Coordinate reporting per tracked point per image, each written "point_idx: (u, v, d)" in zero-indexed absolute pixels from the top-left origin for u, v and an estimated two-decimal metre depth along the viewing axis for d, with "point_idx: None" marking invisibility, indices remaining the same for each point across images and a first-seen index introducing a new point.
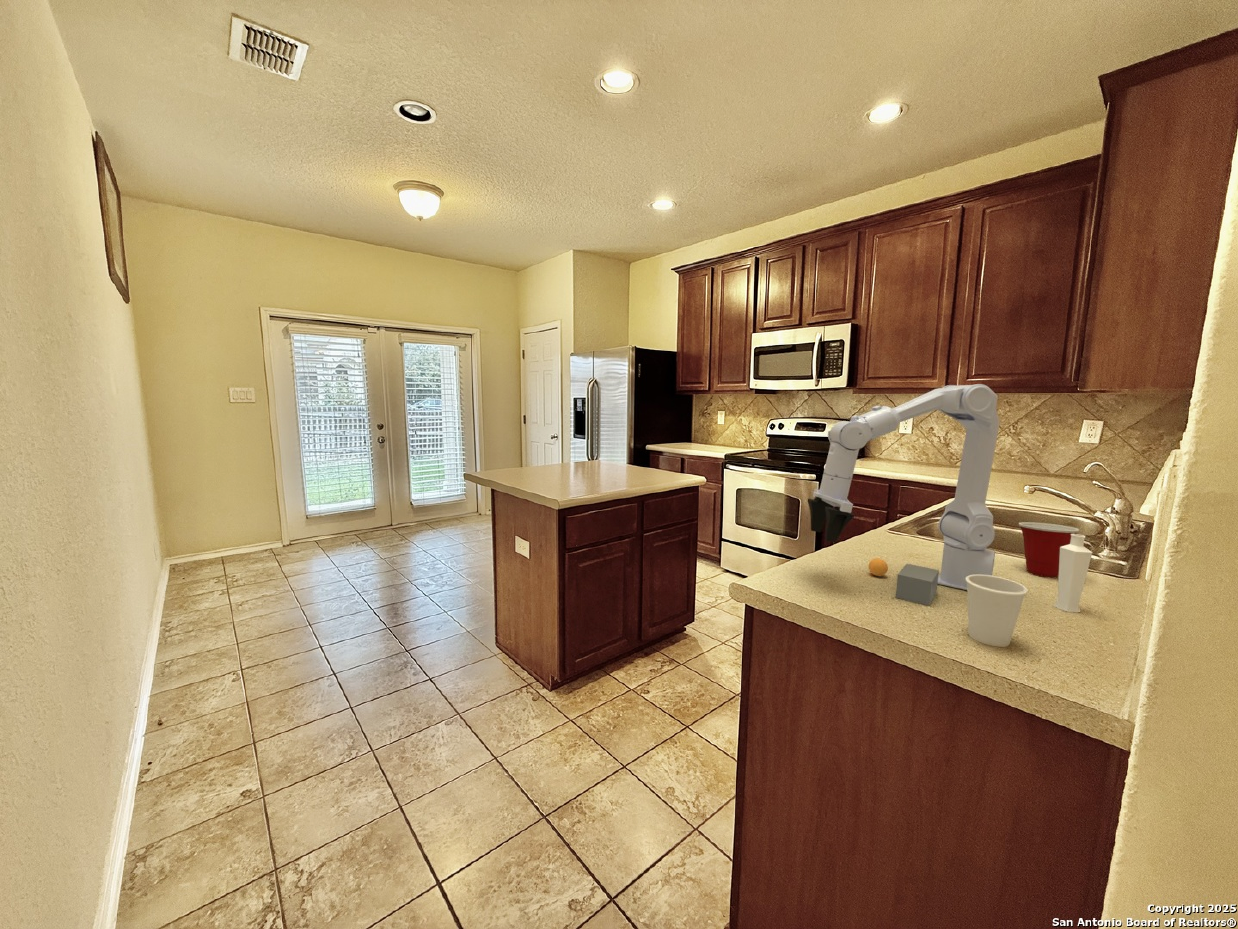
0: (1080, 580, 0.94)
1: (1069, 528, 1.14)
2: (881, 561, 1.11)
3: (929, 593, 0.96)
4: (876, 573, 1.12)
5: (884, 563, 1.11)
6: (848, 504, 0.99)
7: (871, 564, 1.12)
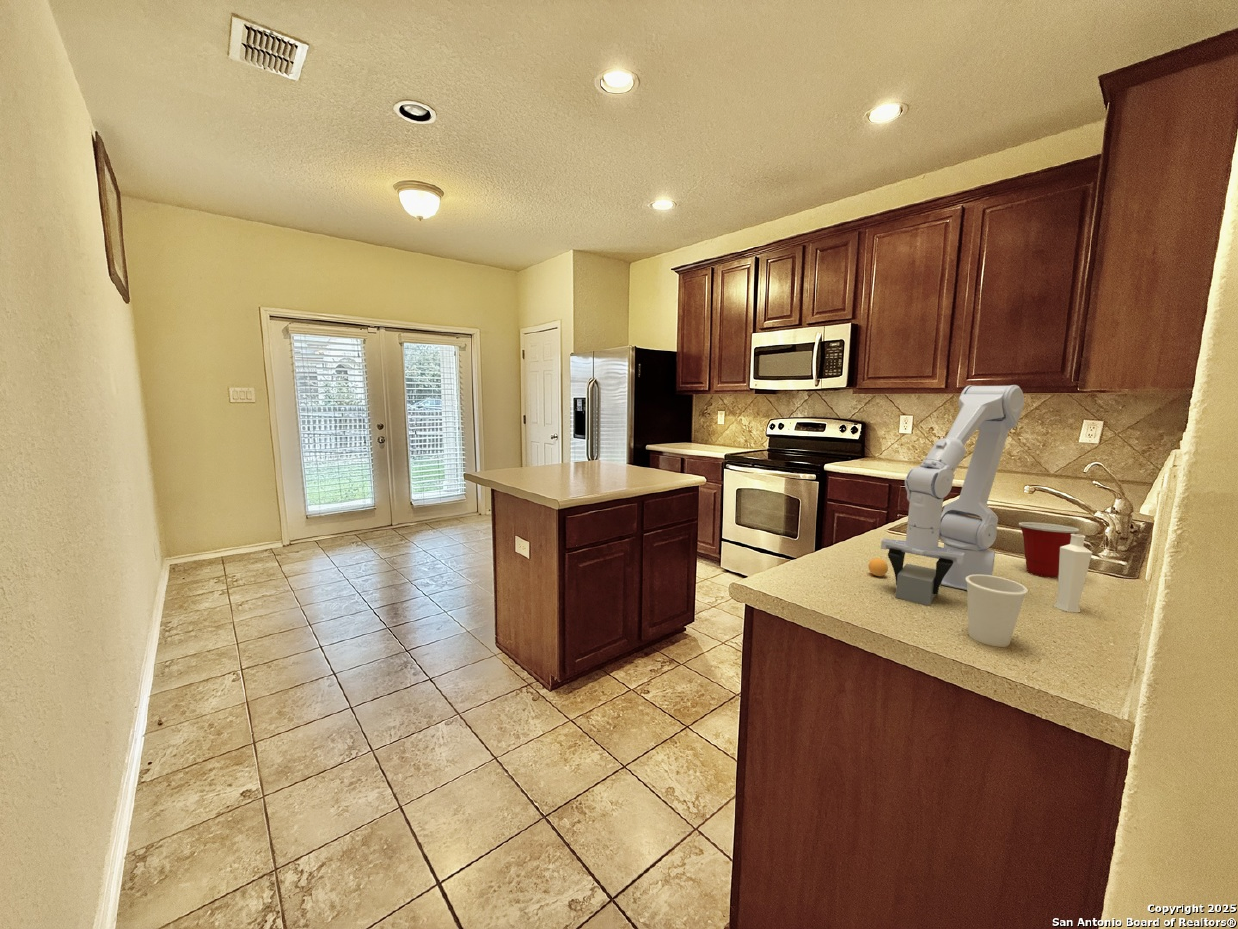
0: (1080, 580, 0.94)
1: (1069, 528, 1.14)
2: (881, 561, 1.11)
3: (929, 593, 0.96)
4: (876, 573, 1.12)
5: (884, 563, 1.11)
6: (963, 555, 0.96)
7: (871, 564, 1.12)
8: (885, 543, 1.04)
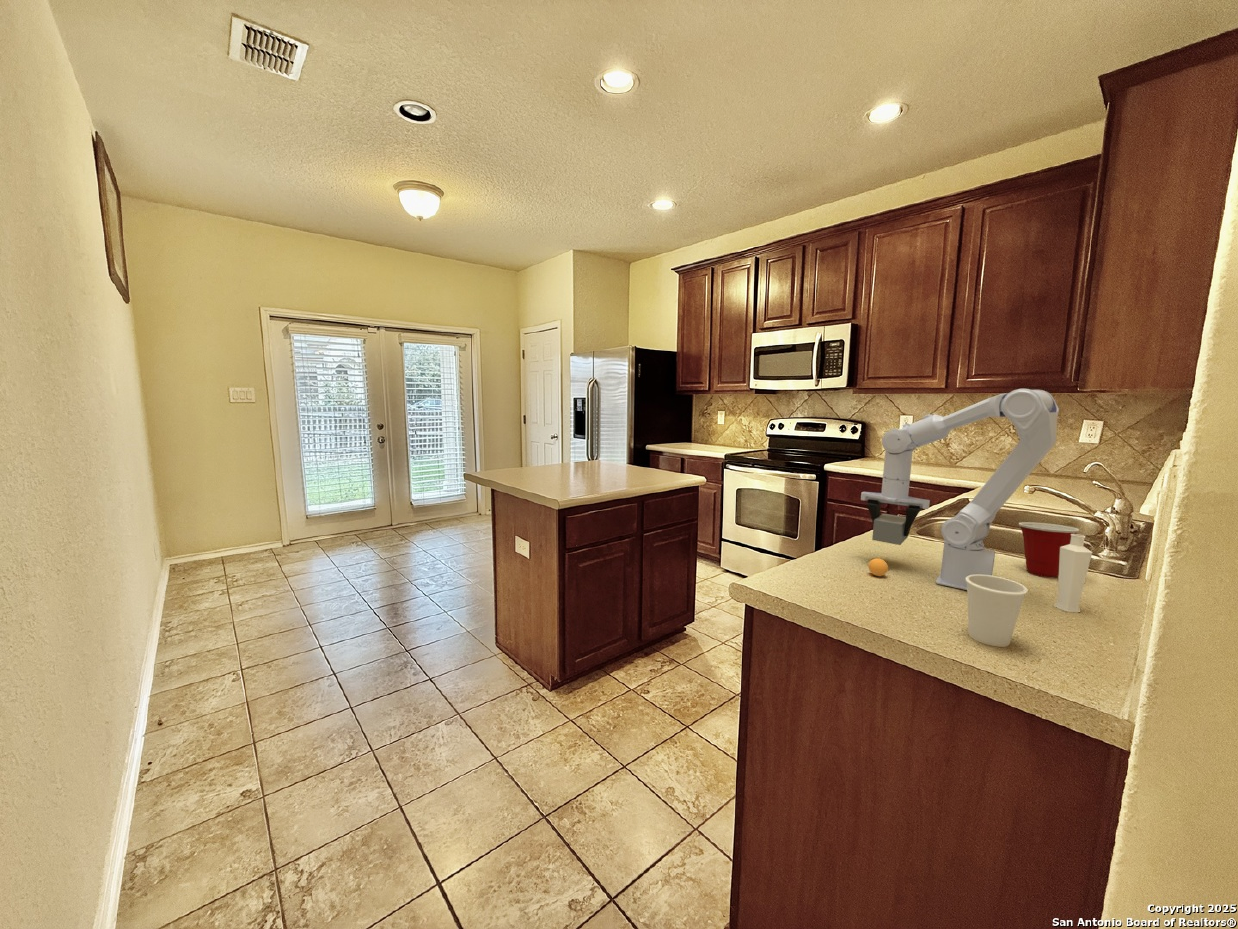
0: (1080, 580, 0.94)
1: (1069, 528, 1.14)
2: (881, 561, 1.11)
3: (900, 534, 1.14)
4: (876, 573, 1.12)
5: (884, 563, 1.11)
6: (929, 501, 1.14)
7: (871, 564, 1.12)
8: (864, 495, 1.22)
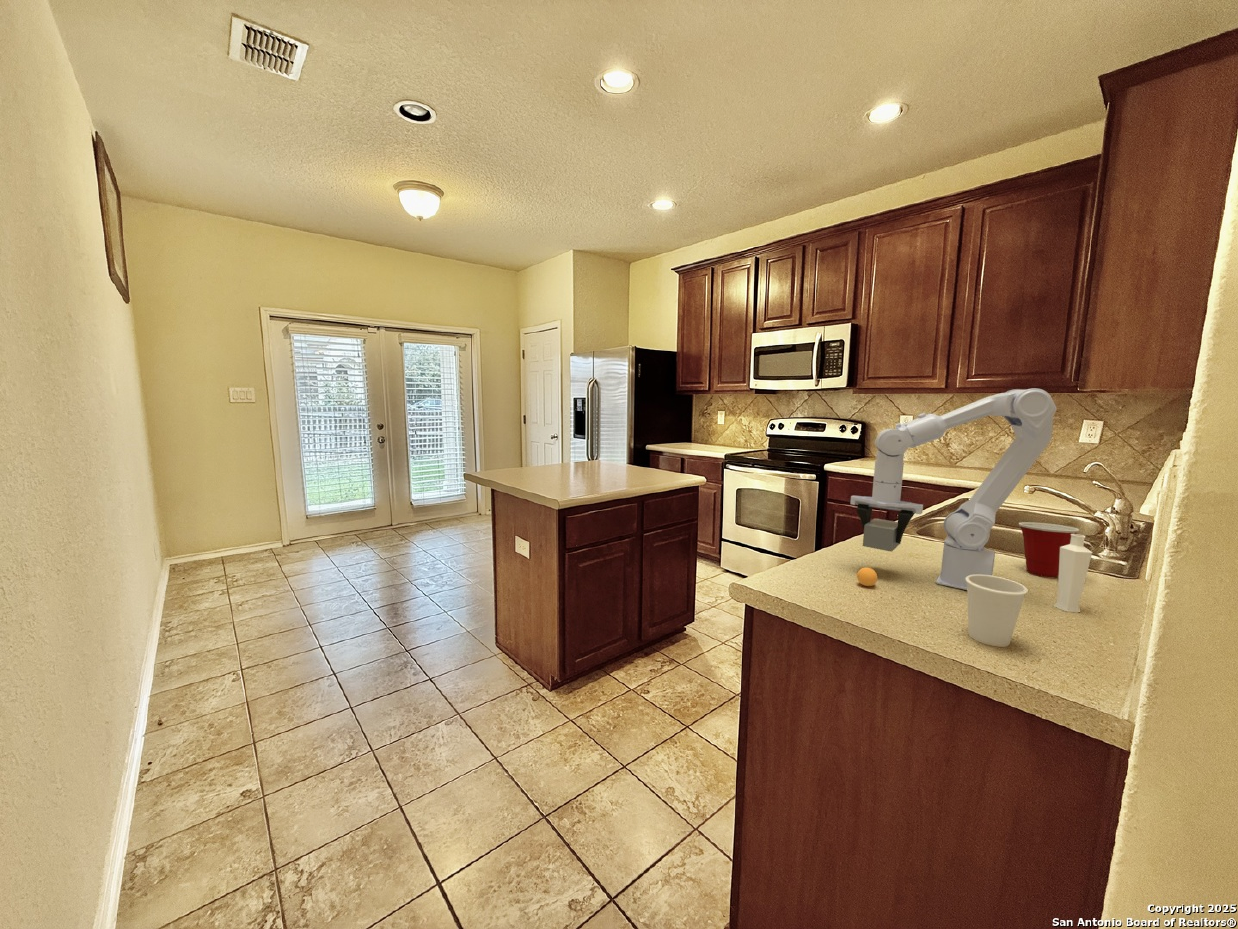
0: (1080, 580, 0.94)
1: (1069, 528, 1.14)
2: None
3: (892, 540, 1.08)
4: (868, 568, 1.06)
5: None
6: (922, 506, 1.07)
7: None
8: (854, 499, 1.15)
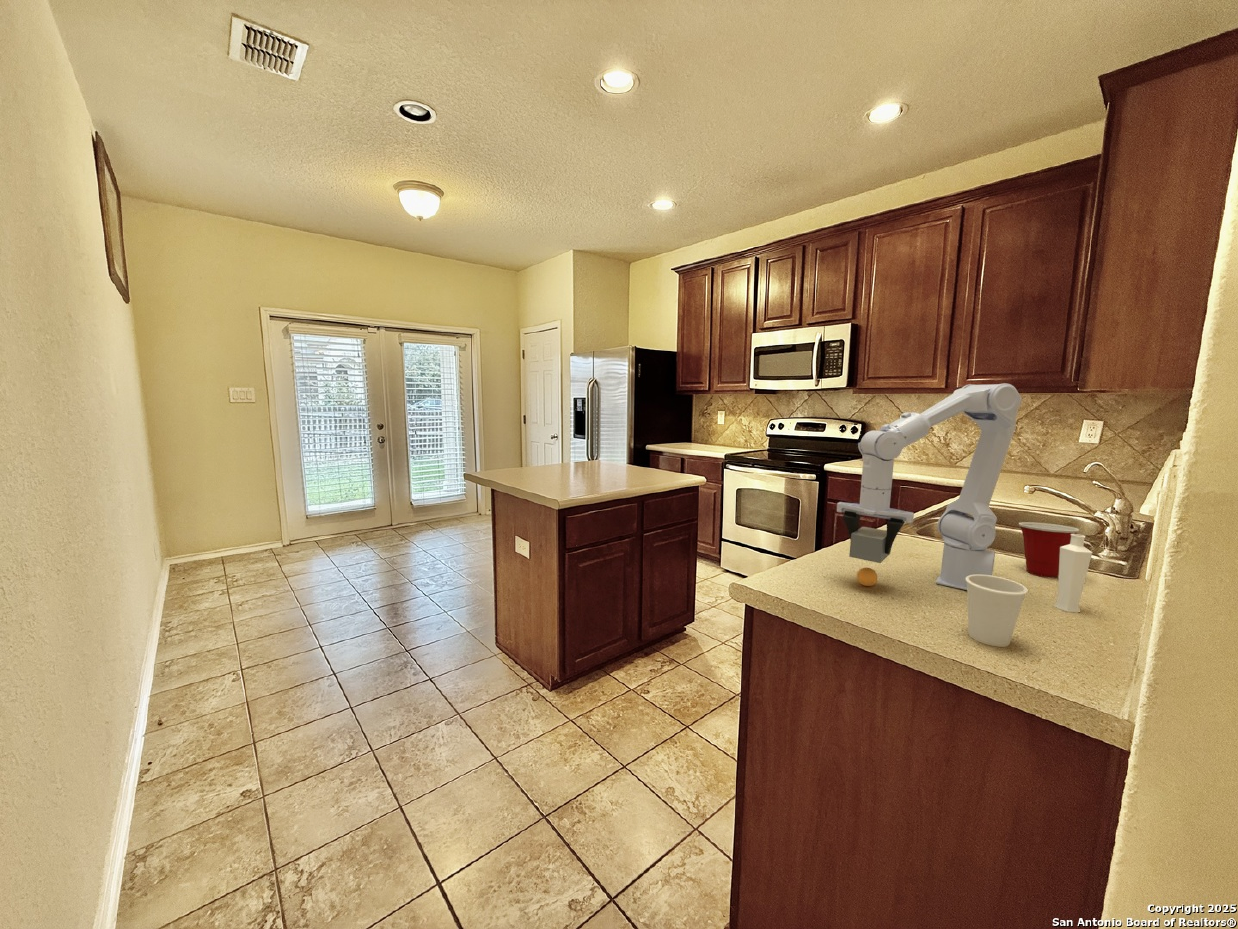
0: (1080, 580, 0.94)
1: (1069, 528, 1.14)
2: None
3: (880, 551, 1.00)
4: (868, 568, 1.06)
5: None
6: (912, 514, 0.99)
7: None
8: (840, 506, 1.07)
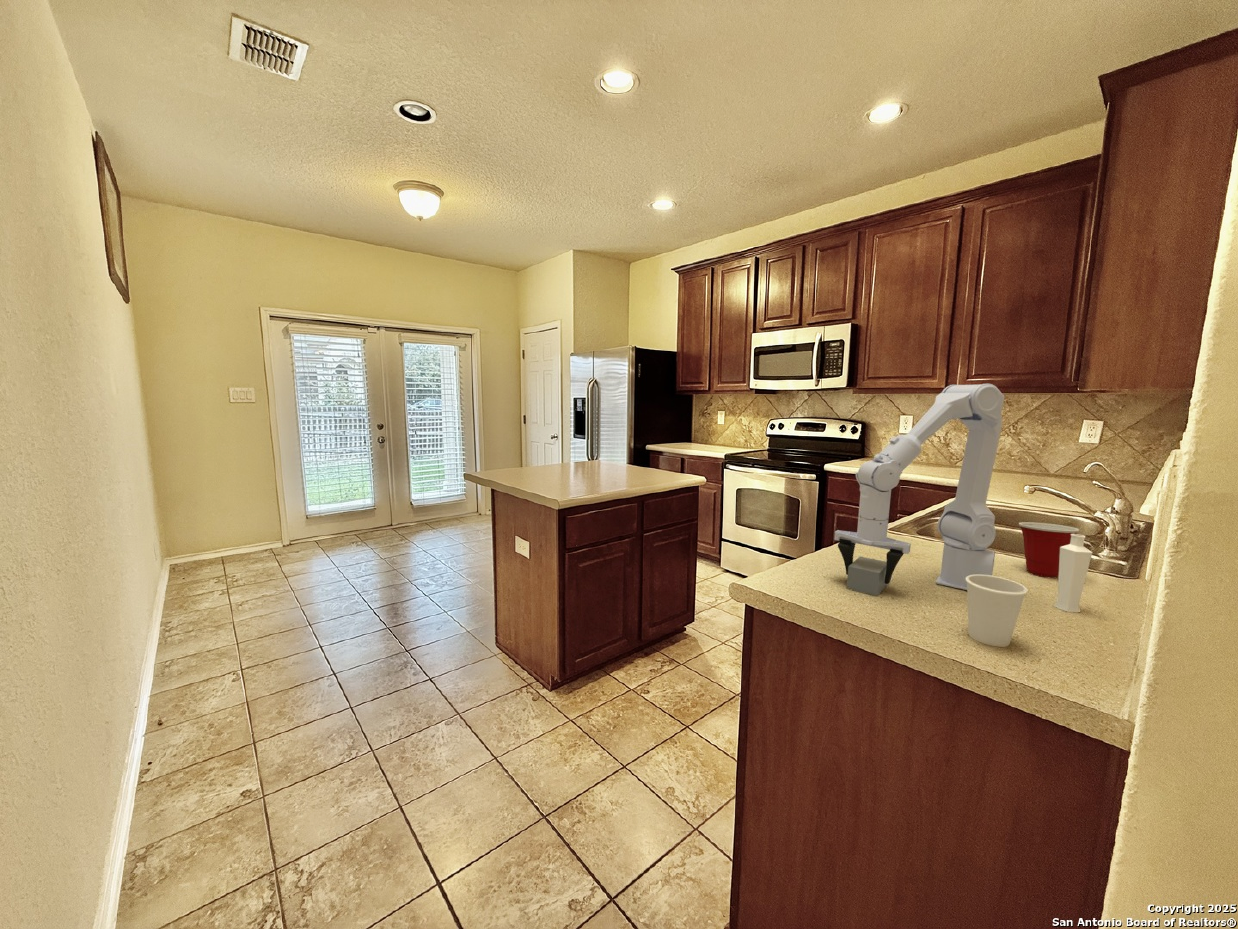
0: (1080, 580, 0.94)
1: (1069, 528, 1.14)
2: None
3: (877, 584, 1.01)
4: None
5: None
6: (909, 545, 1.00)
7: None
8: (838, 534, 1.08)
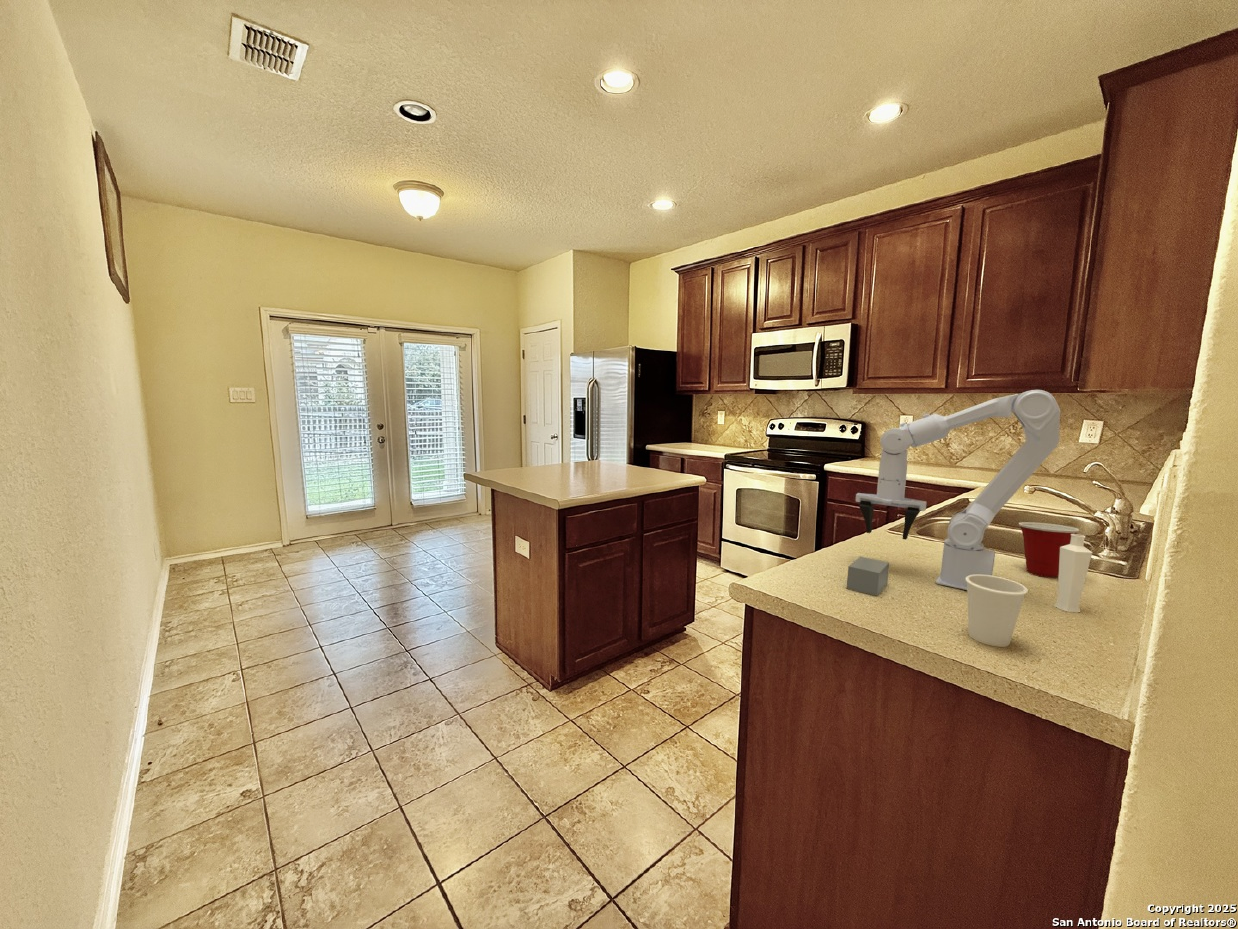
0: (1080, 580, 0.94)
1: (1069, 528, 1.14)
2: None
3: (877, 584, 1.01)
4: None
5: None
6: (925, 503, 1.10)
7: None
8: (859, 496, 1.18)
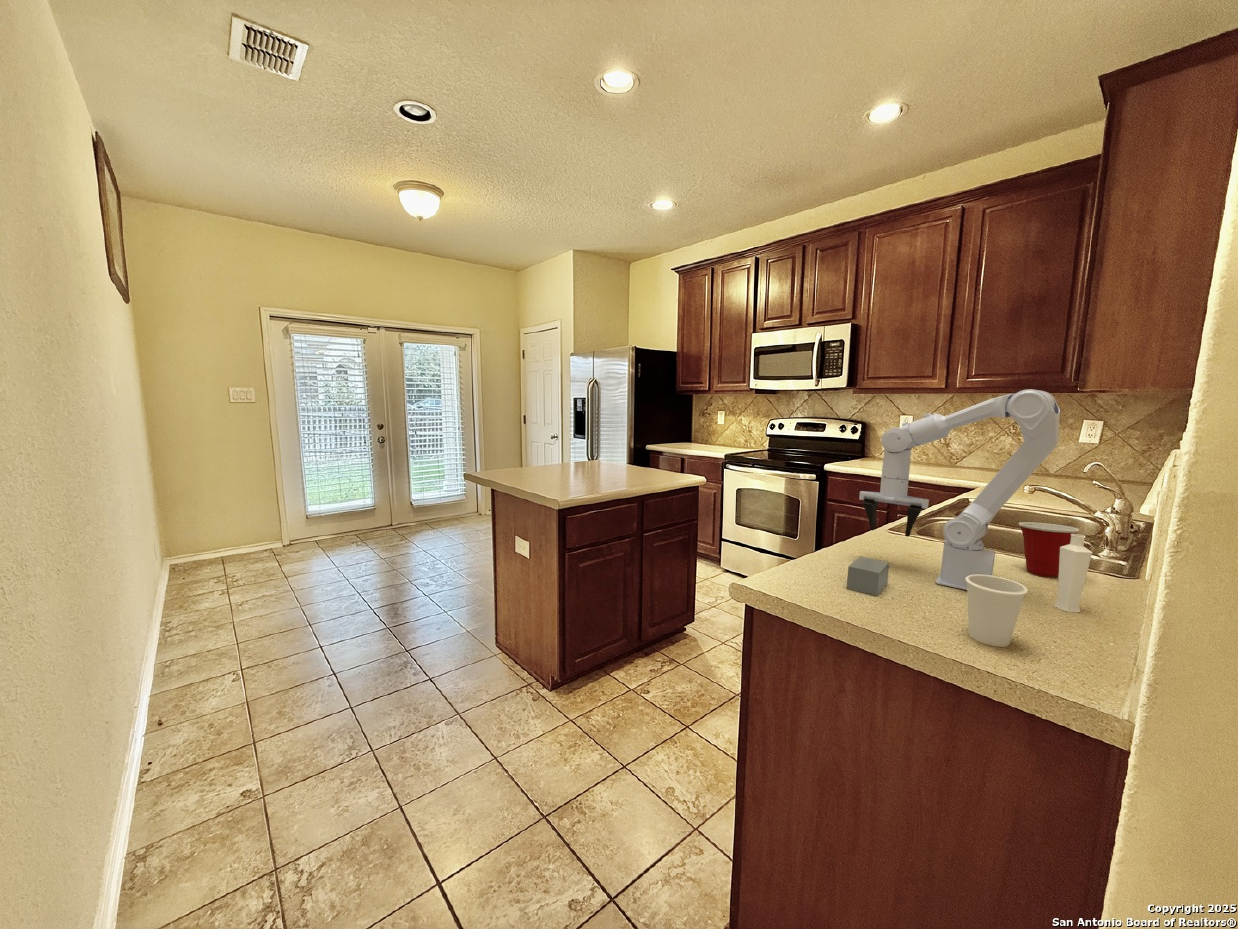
0: (1080, 580, 0.94)
1: (1069, 528, 1.14)
2: None
3: (877, 584, 1.01)
4: None
5: None
6: (928, 501, 1.13)
7: None
8: (863, 494, 1.21)
